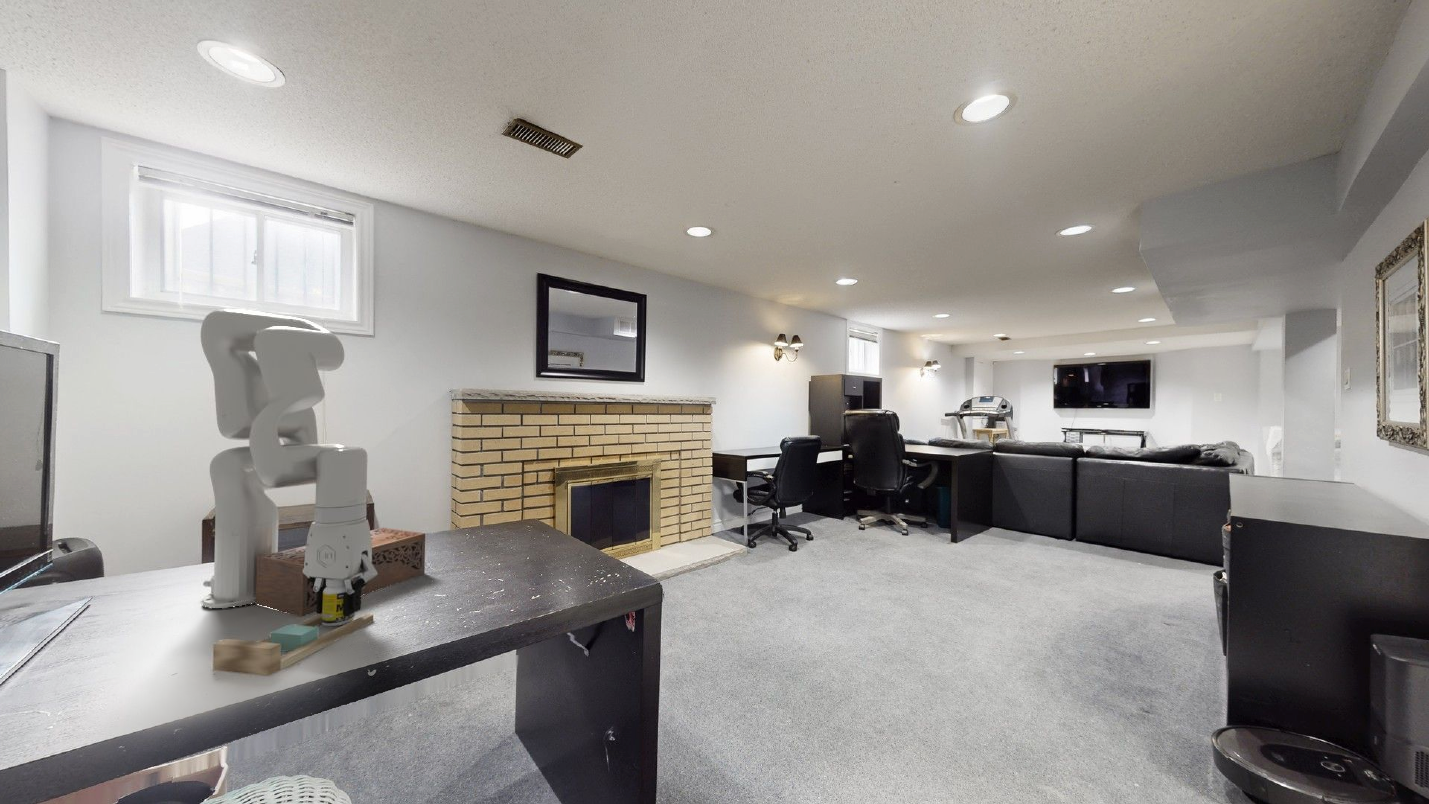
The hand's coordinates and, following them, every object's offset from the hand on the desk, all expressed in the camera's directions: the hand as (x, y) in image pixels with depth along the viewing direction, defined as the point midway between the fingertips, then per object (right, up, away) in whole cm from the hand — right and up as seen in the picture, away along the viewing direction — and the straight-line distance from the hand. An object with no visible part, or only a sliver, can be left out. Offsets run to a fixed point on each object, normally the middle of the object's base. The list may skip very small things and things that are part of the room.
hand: (338, 610), depth 89 cm
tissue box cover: (-12, -3, +17) cm, 21 cm away
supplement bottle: (0, -2, 0) cm, 2 cm away
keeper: (-1, -2, -8) cm, 9 cm away
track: (-1, -2, -6) cm, 7 cm away
